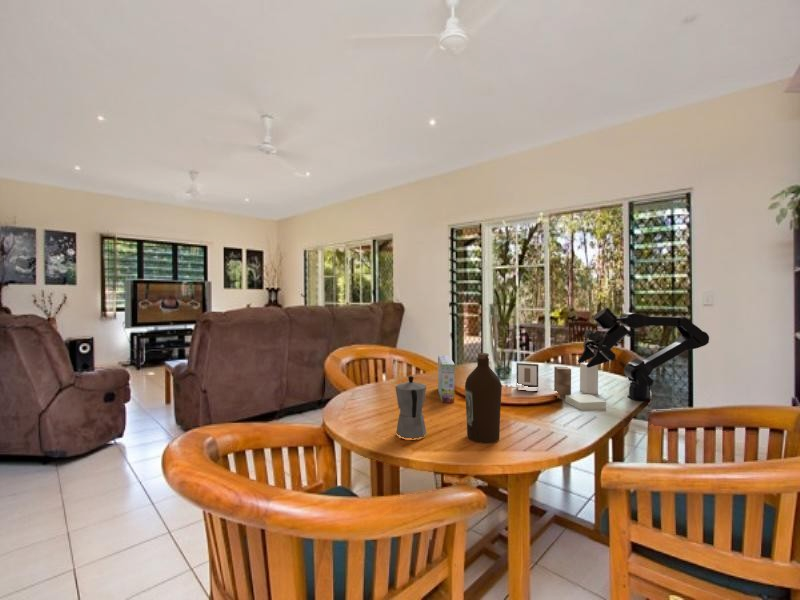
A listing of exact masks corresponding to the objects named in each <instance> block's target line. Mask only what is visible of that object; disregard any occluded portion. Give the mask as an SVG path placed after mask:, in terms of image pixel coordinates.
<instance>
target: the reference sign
mask: <svg viewBox="0 0 800 600" xmlns="http://www.w3.org/2000/svg"><path fill="white" fill-rule="evenodd" d="M517 383H518V384H522V385H524V386H528V387H538V388H539V363H525V362H524V363H522V362H516V384H517Z"/></svg>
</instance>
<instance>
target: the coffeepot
mask: <svg viewBox="0 0 800 600" xmlns="http://www.w3.org/2000/svg"><path fill="white" fill-rule="evenodd" d="M407 378H408V381H405V382H402V383H398V384H397V385H396V386H395V394H396V400H397V406H398V409H399V415H398V420H397V424H396V425H397V427H396V431H395V432H396V433H397V434H398V435H400V436H401V437H404V438H412V439H414V438H419V437H424V435H425V434H426V435H427V429H426V425H425V424H426V423H425V419H424V418H425V417H424V413H423V408H424V405H425V397H426V392H427V385H425V384H423V383H421V382H416V381H415V382H414V376H412V375H409V376H408V377H407ZM396 433H395V434H396ZM426 435H425V436H426ZM424 438H425V437H424Z"/></svg>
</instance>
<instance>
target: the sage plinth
mask: <svg viewBox="0 0 800 600" xmlns="http://www.w3.org/2000/svg"><path fill="white" fill-rule="evenodd" d="M565 403H567V404H569V405H571V406H572V407H575V408H576V409H578V410H582V411H583V410H584V411H586V410H604V409H605V410H606V409H607V401H605V400H603V399H601V398H599V397H598V396H594V395H593V394H586V393H584V394H571V395H566V399H565Z"/></svg>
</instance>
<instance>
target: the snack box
mask: <svg viewBox="0 0 800 600" xmlns="http://www.w3.org/2000/svg"><path fill="white" fill-rule="evenodd" d="M437 357H438V359H437V389H438V390H437V391H438V393H439V398H440V401H441V402H442V403H455V387H456V386H455V385H456V384H455V383H456V381H455V380H456V379H455V378H456V377H455V375H456V364H455V363H454V361H453V360H452V357H451V356H450V355H438V356H437Z"/></svg>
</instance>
